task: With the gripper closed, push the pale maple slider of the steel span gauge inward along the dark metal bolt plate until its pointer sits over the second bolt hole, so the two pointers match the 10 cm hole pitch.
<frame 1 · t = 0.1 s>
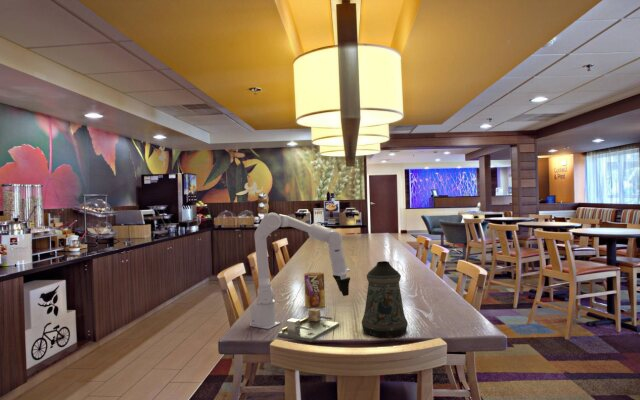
hand: (344, 293, 171), 11 cm above the table, tool pointing down, fingers open, 7 cm apart
candy box: (315, 306, 193), on the table
bolt plate: (309, 330, 158), on the table
slider: (317, 315, 166), point 3 cm above the table, slide at 4.0 cm
beer stein: (383, 330, 156), on the table
fixed leg: (293, 334, 155), resting on bolt plate
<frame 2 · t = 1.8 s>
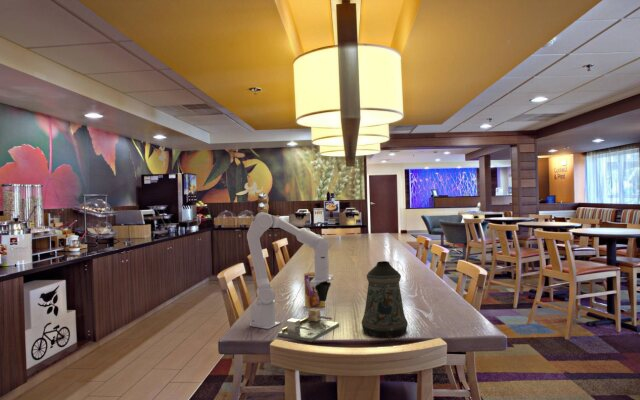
hand: (322, 300, 172), 8 cm above the table, tool pointing down, fingers closed
nothing on the table moved.
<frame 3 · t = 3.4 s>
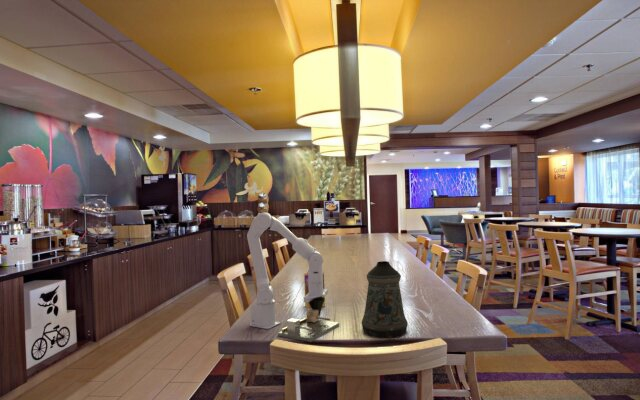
hand: (316, 316, 168), 2 cm above the table, tool pointing down, fingers closed
slider: (315, 316, 165), point 3 cm above the table, slide at 2.7 cm, touching gripper
everything else where it was.
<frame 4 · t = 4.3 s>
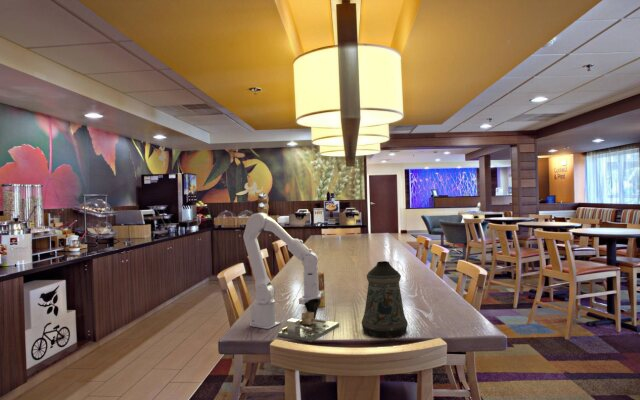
hand: (312, 318, 165), 2 cm above the table, tool pointing down, fingers closed
slider: (311, 318, 162), point 3 cm above the table, slide at -0.5 cm, touching gripper
everything else where it was.
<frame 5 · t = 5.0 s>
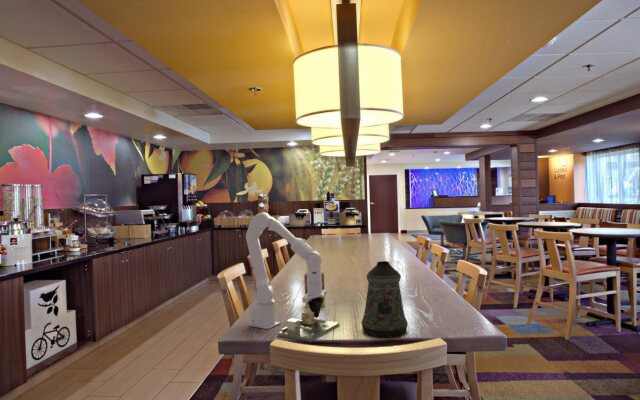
hand: (315, 316, 167), 2 cm above the table, tool pointing down, fingers closed
slider: (311, 318, 162), point 3 cm above the table, slide at -0.5 cm
everything else where it was.
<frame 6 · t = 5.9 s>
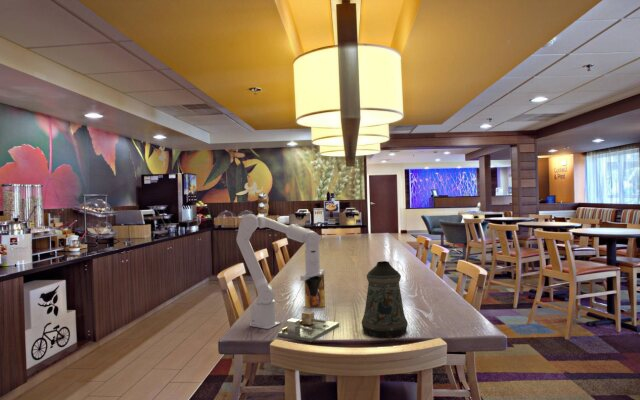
hand: (313, 295, 169), 10 cm above the table, tool pointing down, fingers closed
nothing on the table moved.
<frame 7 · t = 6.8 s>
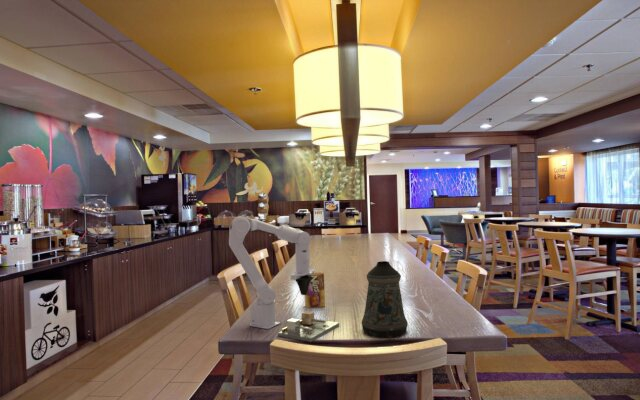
hand: (304, 294, 171), 10 cm above the table, tool pointing down, fingers closed
nothing on the table moved.
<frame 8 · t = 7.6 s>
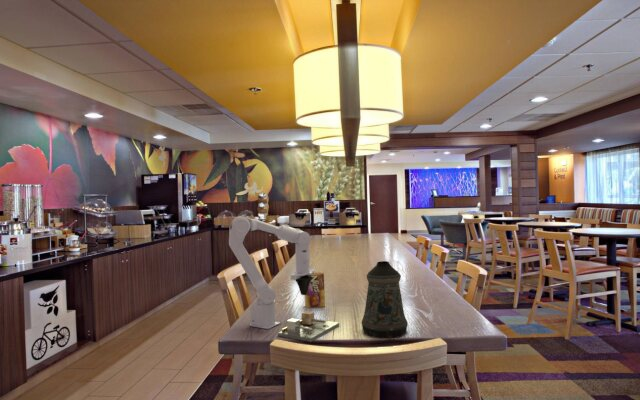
hand: (304, 294, 171), 10 cm above the table, tool pointing down, fingers closed
nothing on the table moved.
at the end: slider slide at -0.5 cm; the gripper is holding nothing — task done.
